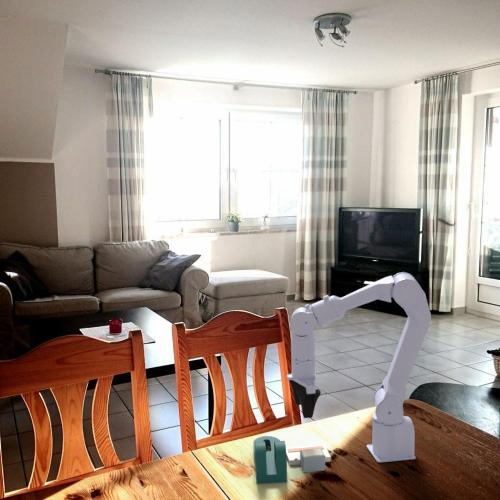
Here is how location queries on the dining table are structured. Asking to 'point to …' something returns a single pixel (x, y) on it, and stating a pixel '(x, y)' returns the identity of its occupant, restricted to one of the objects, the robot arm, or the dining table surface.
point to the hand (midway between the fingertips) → (303, 410)
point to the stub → (312, 460)
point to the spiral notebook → (294, 452)
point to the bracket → (270, 460)
